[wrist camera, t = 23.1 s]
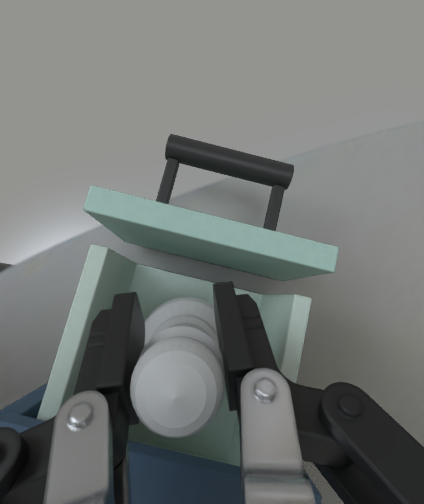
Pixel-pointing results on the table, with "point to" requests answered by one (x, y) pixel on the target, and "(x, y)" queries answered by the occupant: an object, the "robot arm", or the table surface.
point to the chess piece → (179, 369)
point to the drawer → (177, 286)
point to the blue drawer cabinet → (154, 466)
